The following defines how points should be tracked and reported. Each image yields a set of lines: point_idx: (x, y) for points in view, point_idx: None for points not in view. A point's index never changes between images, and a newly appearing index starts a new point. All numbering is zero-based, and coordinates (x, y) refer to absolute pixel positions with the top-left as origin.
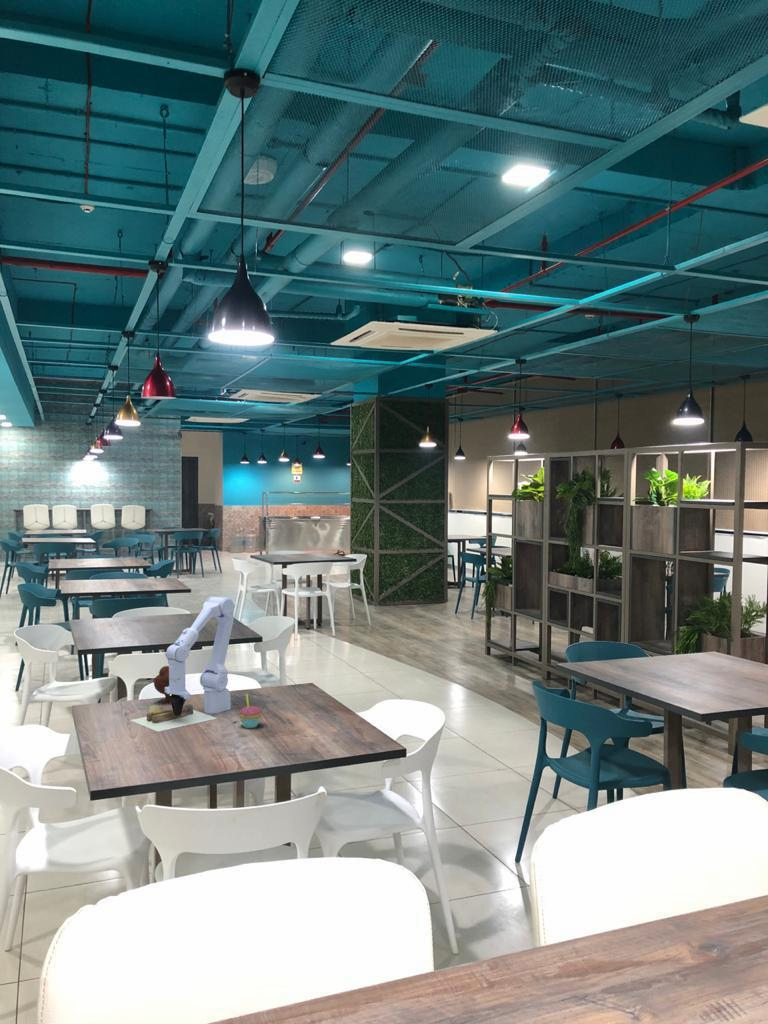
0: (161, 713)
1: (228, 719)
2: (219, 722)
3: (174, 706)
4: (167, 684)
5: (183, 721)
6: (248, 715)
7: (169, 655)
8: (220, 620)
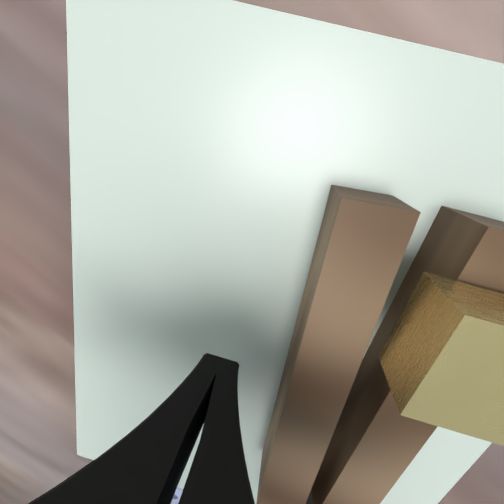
0: (368, 336)
1: (75, 471)
2: (59, 425)
3: (160, 431)
4: None
5: (171, 342)
6: None
7: None
8: None
